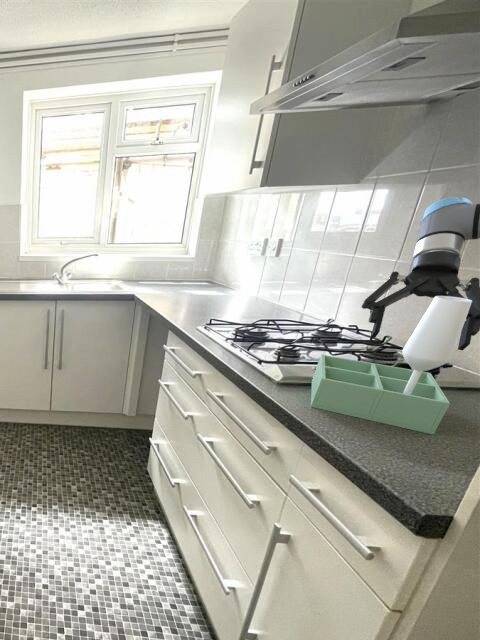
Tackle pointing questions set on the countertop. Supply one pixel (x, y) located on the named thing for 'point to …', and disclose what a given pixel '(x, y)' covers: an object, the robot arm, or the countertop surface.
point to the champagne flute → (435, 336)
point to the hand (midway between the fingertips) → (417, 340)
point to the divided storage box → (378, 394)
